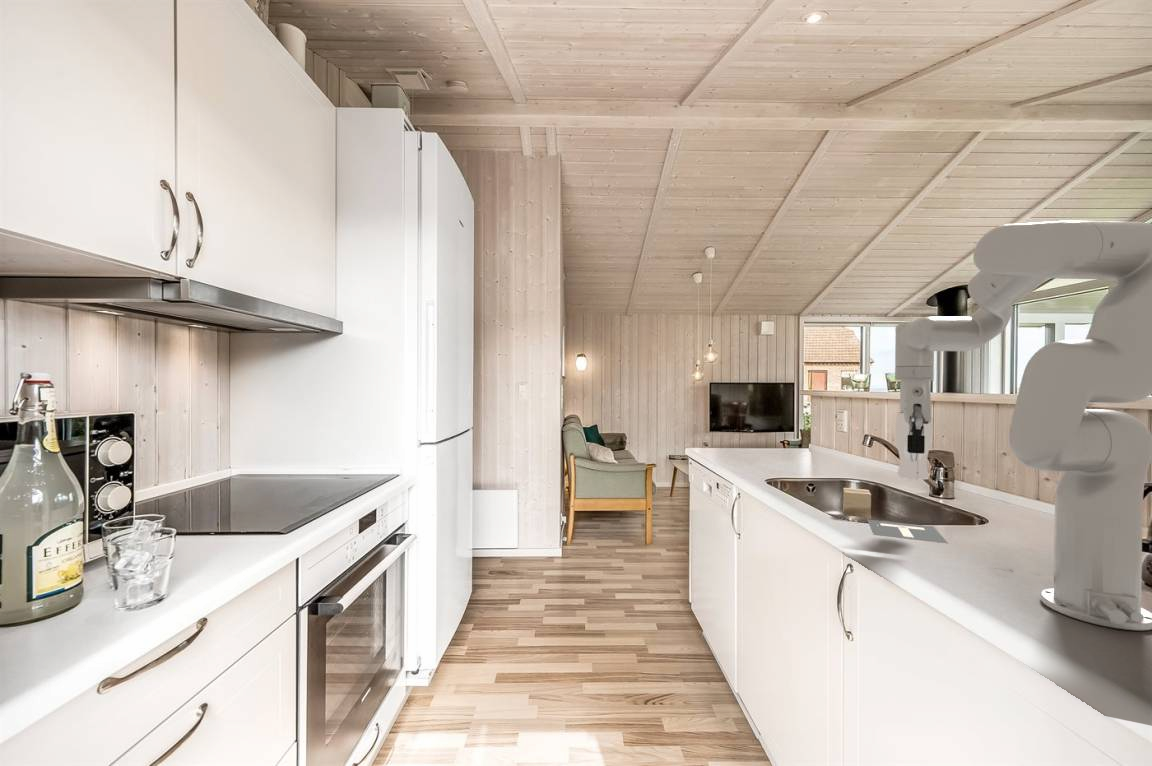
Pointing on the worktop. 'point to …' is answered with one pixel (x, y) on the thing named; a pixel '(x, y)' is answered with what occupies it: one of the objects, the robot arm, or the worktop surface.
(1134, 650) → the worktop surface
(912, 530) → the letter mat
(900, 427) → the beer glass
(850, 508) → the oak block
